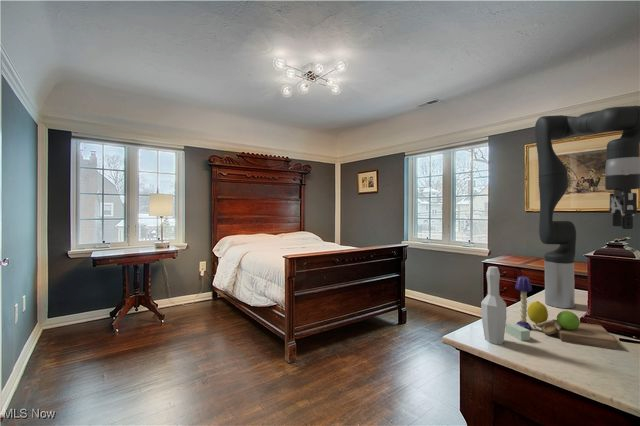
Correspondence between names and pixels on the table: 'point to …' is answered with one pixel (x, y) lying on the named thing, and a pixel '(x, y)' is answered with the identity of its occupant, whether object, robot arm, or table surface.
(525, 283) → the toy lamp
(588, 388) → the table surface
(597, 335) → the walnut block
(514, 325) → the sage block
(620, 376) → the table surface
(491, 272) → the low poly bottle
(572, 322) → the snail figurine
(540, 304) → the lemon
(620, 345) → the table surface
